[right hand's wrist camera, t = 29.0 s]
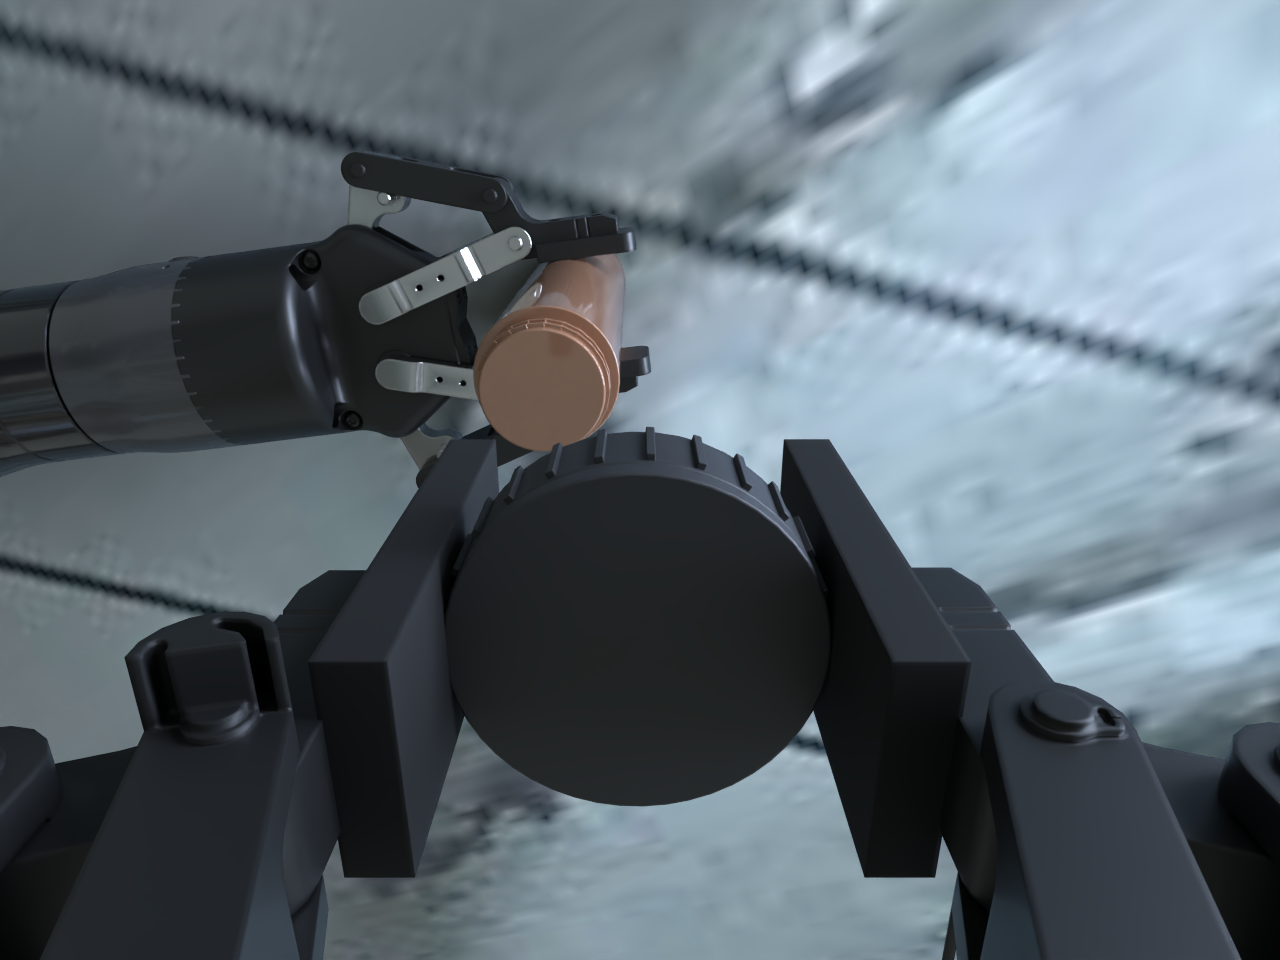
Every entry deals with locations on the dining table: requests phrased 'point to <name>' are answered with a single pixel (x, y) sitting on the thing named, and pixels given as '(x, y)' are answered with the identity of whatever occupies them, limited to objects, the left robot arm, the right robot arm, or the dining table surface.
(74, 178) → the dining table surface
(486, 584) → the lid
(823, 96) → the dining table surface
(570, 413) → the jar
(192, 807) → the right robot arm
